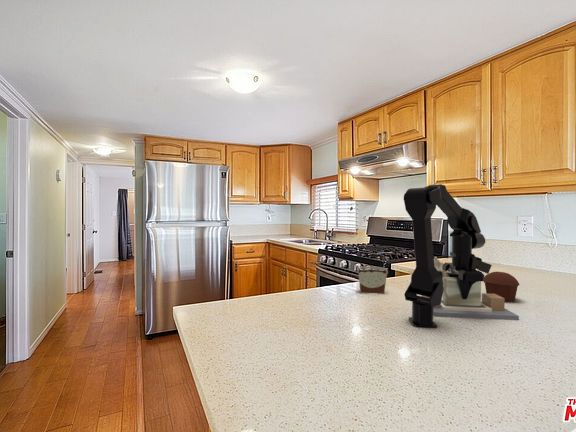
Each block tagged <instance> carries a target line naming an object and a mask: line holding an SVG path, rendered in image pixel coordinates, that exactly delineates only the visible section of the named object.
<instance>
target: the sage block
mask: <svg viewBox="0 0 576 432" xmlns="http://www.w3.org/2000/svg"><path fill="white" fill-rule="evenodd" d="M443 284H444V285H443V287H444V290H443V295H442V299H443V301H444V302H445V303H446V304H448V305H468V306H481V302H482V281H478V282H475V283H474V284H473V285H472V287H471V289H470V292H469V294H468V297H467V299H463V298H462V296H461V293H460V290H459V286H458V284H457V280H456V278H454V277H443Z"/></svg>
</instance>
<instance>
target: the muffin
mask: <svg viewBox="0 0 576 432" xmlns="http://www.w3.org/2000/svg"><path fill="white" fill-rule="evenodd" d="M483 282H484V286H485V287H484V288H485V293H488V294H496V295H498V296H500V297H502V298H505V303H514V302H516V297H517V292H518V291H517V290H518V287H519V286H520V283H519V280H517V278H516V277H515V276H513V275H512V274H510V273H507V272H503V271H492V272H489V273H488V274H487V273H486V274H485V275H484V281H483Z"/></svg>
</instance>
